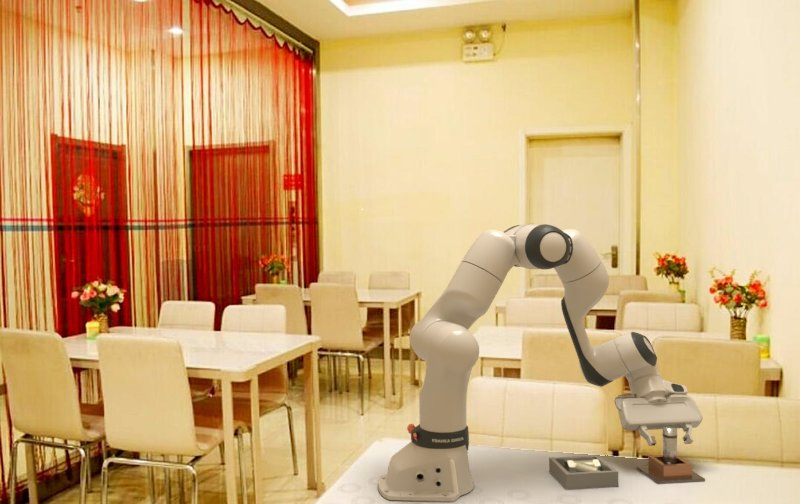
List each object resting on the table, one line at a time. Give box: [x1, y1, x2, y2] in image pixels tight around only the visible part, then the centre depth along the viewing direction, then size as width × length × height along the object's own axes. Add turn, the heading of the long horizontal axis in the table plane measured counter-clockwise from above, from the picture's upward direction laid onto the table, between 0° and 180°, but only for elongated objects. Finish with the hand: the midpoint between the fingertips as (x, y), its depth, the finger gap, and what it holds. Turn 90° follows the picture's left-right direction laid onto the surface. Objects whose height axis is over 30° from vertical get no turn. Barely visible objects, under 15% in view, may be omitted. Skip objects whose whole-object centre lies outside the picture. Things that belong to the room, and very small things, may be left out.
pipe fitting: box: [564, 459, 601, 473], centre depth 154 cm, size 8×4×7 cm
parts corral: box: [548, 454, 619, 490], centre depth 152 cm, size 12×12×4 cm
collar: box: [636, 454, 706, 485], centre depth 154 cm, size 12×10×4 cm
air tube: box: [662, 426, 678, 464], centre depth 154 cm, size 3×3×11 cm
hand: (671, 443), depth 154 cm, fingers open, 8 cm apart
